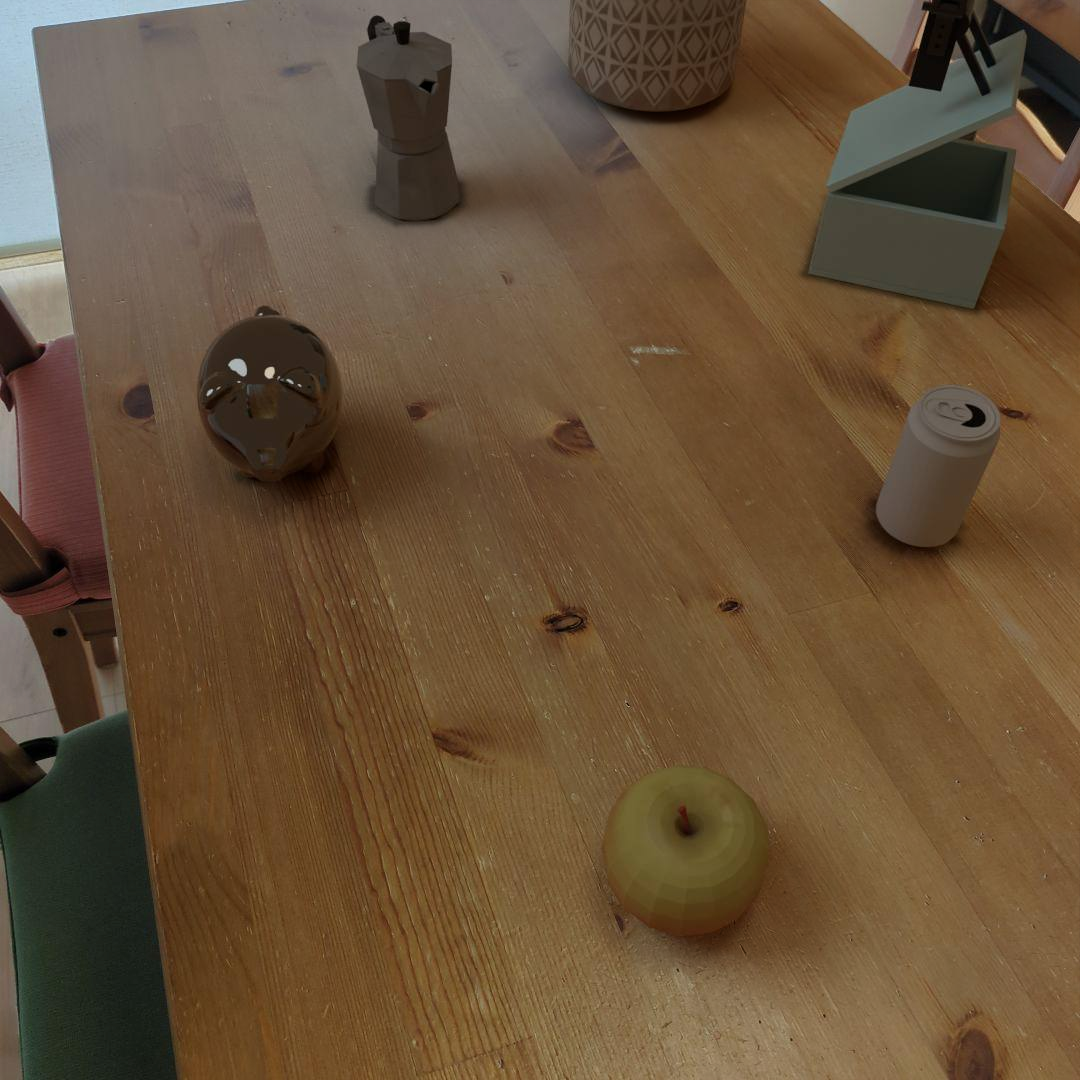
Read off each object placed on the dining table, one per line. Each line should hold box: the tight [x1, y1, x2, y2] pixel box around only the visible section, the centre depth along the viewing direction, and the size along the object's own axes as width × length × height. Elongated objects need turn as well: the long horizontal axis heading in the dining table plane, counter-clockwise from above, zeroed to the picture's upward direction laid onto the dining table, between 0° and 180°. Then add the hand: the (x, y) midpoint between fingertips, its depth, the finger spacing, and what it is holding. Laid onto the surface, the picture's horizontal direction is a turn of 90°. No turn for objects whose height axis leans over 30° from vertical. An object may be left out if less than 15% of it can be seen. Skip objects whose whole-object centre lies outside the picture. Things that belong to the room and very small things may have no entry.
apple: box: [601, 764, 771, 937], centre depth 66 cm, size 10×10×8 cm
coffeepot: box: [356, 14, 460, 222], centre depth 108 cm, size 15×9×18 cm, turn 26°
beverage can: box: [875, 384, 1001, 548], centre depth 83 cm, size 6×6×12 cm
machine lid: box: [825, 0, 1028, 193], centre depth 97 cm, size 16×14×9 cm
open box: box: [807, 138, 1017, 310], centre depth 106 cm, size 16×14×9 cm
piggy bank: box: [195, 305, 344, 483], centre depth 87 cm, size 11×15×12 cm
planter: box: [567, 0, 748, 112], centre depth 123 cm, size 19×19×16 cm
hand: (930, 67), depth 96 cm, fingers closed on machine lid, 6 cm apart
